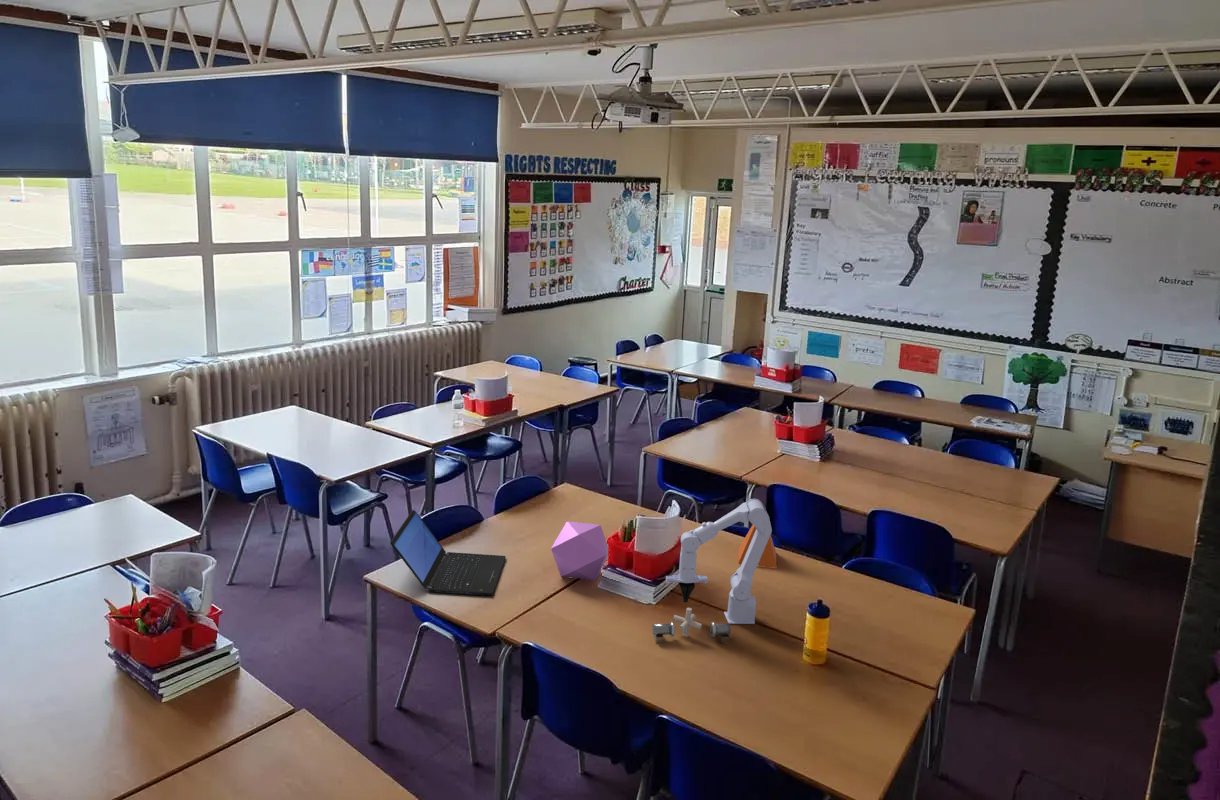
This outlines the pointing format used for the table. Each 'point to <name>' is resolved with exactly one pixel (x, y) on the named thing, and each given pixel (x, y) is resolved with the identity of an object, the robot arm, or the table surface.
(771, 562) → the pyramid
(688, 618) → the pipe connector
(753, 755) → the table surface
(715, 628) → the shaft
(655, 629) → the grey metal fitting
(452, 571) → the laptop
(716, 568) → the table surface
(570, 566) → the icosahedron
